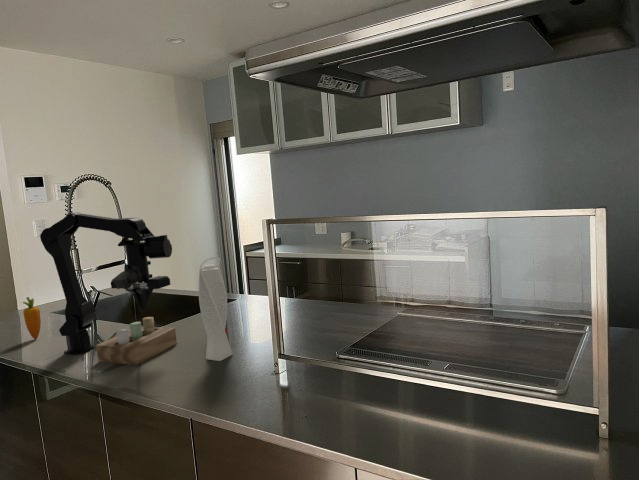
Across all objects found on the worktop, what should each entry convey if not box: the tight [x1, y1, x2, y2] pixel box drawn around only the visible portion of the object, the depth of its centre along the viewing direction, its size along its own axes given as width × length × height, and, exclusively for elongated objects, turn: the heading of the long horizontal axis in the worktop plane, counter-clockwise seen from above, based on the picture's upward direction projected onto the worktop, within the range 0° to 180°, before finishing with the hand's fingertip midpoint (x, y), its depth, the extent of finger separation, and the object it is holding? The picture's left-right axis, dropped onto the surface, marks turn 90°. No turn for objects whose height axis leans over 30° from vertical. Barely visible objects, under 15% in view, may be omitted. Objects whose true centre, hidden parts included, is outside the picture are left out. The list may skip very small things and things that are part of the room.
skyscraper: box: [198, 256, 234, 362], centre depth 141 cm, size 8×8×28 cm
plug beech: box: [142, 316, 156, 333], centre depth 156 cm, size 3×3×6 cm
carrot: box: [22, 296, 42, 340], centre depth 175 cm, size 5×5×15 cm
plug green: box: [129, 321, 143, 339], centre depth 151 cm, size 3×3×6 cm
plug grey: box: [116, 328, 130, 345], centre depth 146 cm, size 3×3×6 cm
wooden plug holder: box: [95, 326, 178, 366], centre depth 152 cm, size 14×18×5 cm
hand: (143, 309), depth 154 cm, fingers closed
